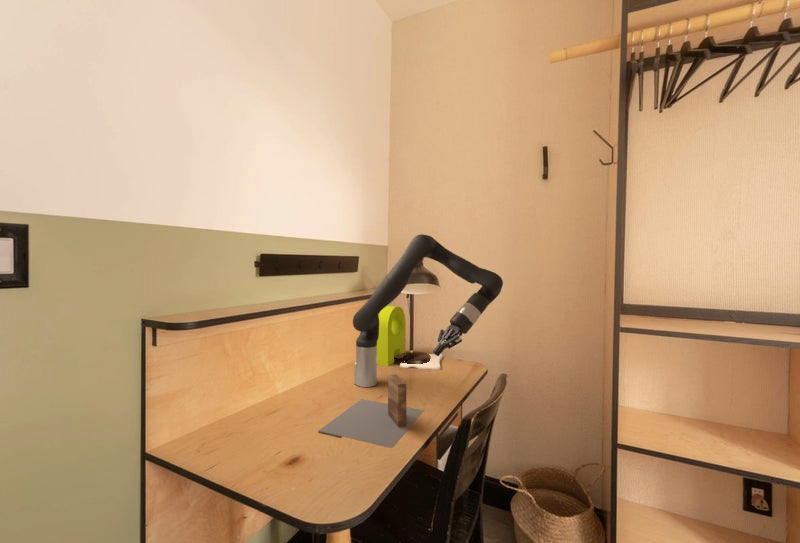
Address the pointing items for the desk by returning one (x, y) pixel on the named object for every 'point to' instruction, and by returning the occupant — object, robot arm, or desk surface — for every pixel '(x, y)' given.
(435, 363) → the flat white fragment
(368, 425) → the desk mat
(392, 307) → the decorative object
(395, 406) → the walnut picture frame
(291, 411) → the desk surface
